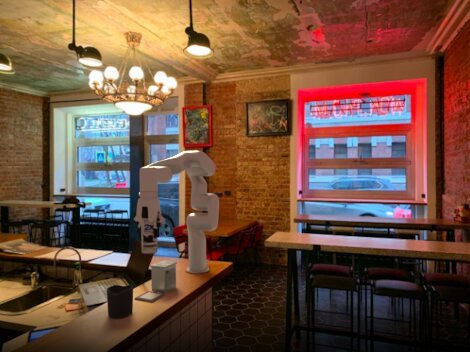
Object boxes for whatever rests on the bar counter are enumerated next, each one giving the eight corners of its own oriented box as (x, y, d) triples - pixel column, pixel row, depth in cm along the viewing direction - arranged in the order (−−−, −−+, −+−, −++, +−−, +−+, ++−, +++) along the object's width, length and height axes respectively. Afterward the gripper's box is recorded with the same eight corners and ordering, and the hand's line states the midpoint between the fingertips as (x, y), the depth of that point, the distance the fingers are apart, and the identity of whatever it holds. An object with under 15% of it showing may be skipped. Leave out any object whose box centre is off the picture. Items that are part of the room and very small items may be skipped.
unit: (163, 285, 158) (163, 260, 158) (177, 287, 154) (177, 261, 154) (150, 291, 149) (150, 265, 149) (165, 294, 146) (164, 267, 146)
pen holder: (124, 307, 131) (124, 282, 131) (138, 313, 125) (138, 287, 125) (102, 315, 124) (101, 288, 124) (115, 322, 118) (115, 294, 118)
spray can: (141, 254, 138) (140, 206, 138) (141, 251, 144) (140, 205, 144) (157, 253, 140) (157, 206, 140) (157, 250, 146) (156, 204, 146)
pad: (148, 292, 148) (148, 290, 148) (165, 295, 144) (165, 293, 144) (134, 299, 140) (134, 297, 140) (151, 302, 136) (151, 300, 136)
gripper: (127, 195, 142) (127, 237, 142) (160, 196, 135) (160, 240, 135) (138, 194, 149) (139, 234, 149) (170, 195, 142) (171, 236, 142)
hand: (149, 236), depth 142 cm, fingers closed on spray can, 6 cm apart
